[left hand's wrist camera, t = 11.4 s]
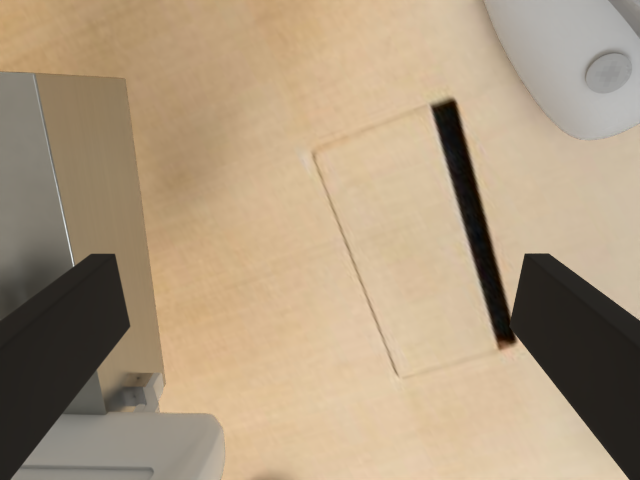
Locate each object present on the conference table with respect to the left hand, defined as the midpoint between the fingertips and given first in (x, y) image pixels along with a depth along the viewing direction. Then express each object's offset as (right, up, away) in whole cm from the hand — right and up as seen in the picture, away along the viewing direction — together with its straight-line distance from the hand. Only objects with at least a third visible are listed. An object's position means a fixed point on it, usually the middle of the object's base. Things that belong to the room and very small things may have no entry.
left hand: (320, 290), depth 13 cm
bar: (-16, +1, +16) cm, 23 cm away
